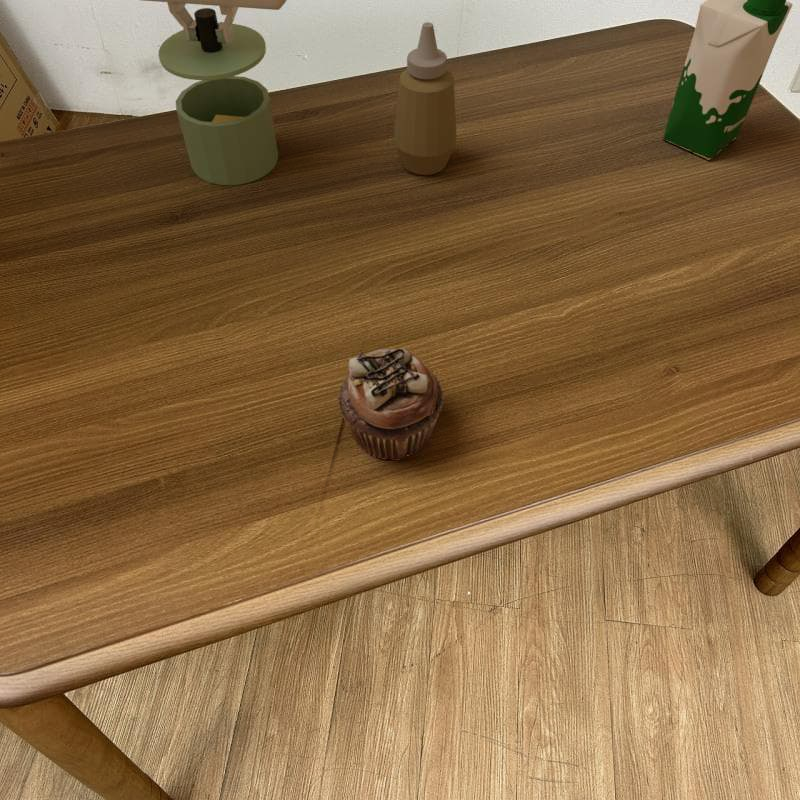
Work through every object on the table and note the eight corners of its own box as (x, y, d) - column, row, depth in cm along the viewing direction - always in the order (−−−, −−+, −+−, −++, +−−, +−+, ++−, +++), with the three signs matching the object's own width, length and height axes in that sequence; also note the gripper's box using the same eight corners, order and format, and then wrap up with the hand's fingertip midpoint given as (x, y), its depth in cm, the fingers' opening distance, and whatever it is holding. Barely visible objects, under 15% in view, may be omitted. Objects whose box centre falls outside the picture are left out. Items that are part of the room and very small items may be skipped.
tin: (179, 181, 96) (162, 121, 89) (207, 131, 103) (193, 72, 96) (264, 189, 95) (254, 129, 88) (287, 138, 102) (279, 79, 95)
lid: (145, 81, 85) (131, 35, 81) (181, 29, 92) (171, -15, 88) (250, 89, 83) (241, 43, 79) (278, 36, 91) (272, -9, 87)
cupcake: (461, 438, 71) (468, 370, 63) (375, 486, 67) (371, 420, 59) (406, 374, 76) (406, 303, 68) (323, 415, 72) (313, 346, 64)
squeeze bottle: (384, 173, 97) (380, 34, 82) (407, 140, 101) (407, 3, 87) (442, 187, 95) (449, 47, 80) (463, 153, 99) (473, 15, 85)
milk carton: (711, 167, 97) (771, 10, 81) (651, 140, 101) (697, -16, 85) (744, 139, 101) (808, -16, 85) (686, 114, 105) (735, -39, 89)
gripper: (289, -102, 76) (304, 33, 87) (100, -113, 78) (138, 21, 89) (272, -79, 72) (290, 60, 83) (75, -90, 74) (117, 47, 85)
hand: (210, 40), depth 86 cm, fingers closed on lid, 2 cm apart
